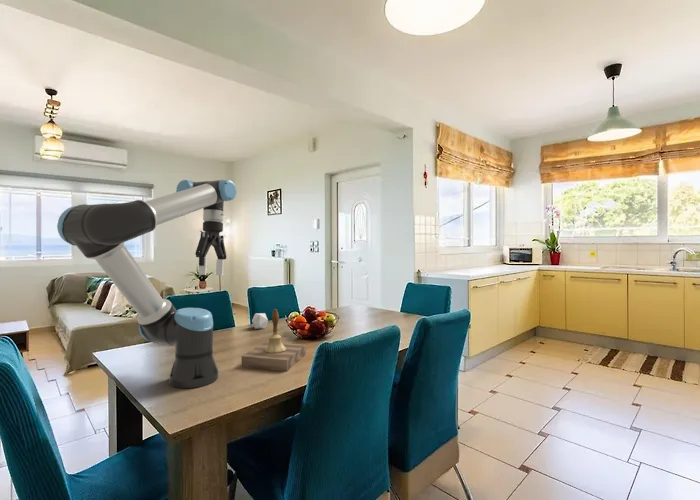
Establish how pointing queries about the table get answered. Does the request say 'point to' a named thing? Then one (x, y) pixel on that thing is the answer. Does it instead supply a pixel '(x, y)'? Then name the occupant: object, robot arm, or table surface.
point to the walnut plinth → (274, 357)
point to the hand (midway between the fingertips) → (211, 275)
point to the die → (259, 320)
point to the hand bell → (275, 337)
